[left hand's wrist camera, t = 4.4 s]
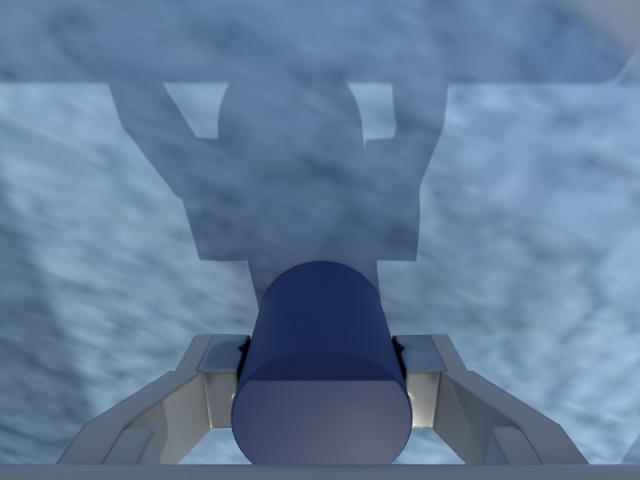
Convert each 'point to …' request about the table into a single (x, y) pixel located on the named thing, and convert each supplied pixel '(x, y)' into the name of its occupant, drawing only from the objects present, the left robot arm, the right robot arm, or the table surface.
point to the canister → (321, 374)
